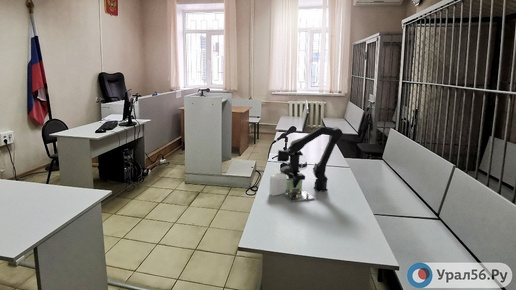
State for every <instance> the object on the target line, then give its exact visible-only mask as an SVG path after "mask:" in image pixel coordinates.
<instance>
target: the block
mask: <svg viewBox="0 0 516 290" xmlns="http://www.w3.org/2000/svg"><path fill="white" fill-rule="evenodd" d="M300 188H303V180H300V181H299V183H298V184H297V186H296V188H294V187H293V179H292V178H290V179H289V178H287V179H286V191H290V189H292V191H293V190H300Z"/></svg>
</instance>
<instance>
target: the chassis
mask: <svg viewBox="0 0 516 290" xmlns="http://www.w3.org/2000/svg"><path fill="white" fill-rule="evenodd" d="M302 188H303V187H302ZM302 188H300V189H299V191H293V190H292V189H290V190H289V192H285V193H284V194H283V196H284V197H285V198H286V199H287V200H288V201H290V202H291V203H298V202H306V201H307V202H308V201H315V197H314V196H313V195H311V194H310V193H308V192H307V191H306V190H304V191H303V189H302Z"/></svg>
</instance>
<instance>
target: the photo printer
mask: <svg viewBox="0 0 516 290" xmlns="http://www.w3.org/2000/svg"><path fill="white" fill-rule="evenodd" d="M287 177H288V176H287V175H286V174H283V173H281V172H280V173H279V172H278V173H275V174H273V175H271V176H270V178H269V191H268V192H269V195H270V196H272V197H274V196H278V195H279V196H280V195H284V193H287V192H286V191H287V190H286V179H288V178H287Z"/></svg>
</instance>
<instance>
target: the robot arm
mask: <svg viewBox="0 0 516 290" xmlns="http://www.w3.org/2000/svg"><path fill="white" fill-rule="evenodd" d="M322 135H327V136H328V137H329V138H328V142H327V144H326V147H325V148H324V150H323V153H322V155H321V158H320V160H319V162H318V163H316V162H315V164H314V166H313V168H312V173H313V175H314V177H315V181H314V186H313V189H314V190H316V191H317V192H325V191H328V189H327V187H328V178H327V177H328V176H327V175H326V169H327V164H328V162H329V159H330V158H331V155H332V154H333V151H334V148H335V147H336V144H337V143H339V141H340V140H341V138H342V136H343V131H342V129H340V128H339V127H337V126H334V127H330V126H324V125H321V126H319V127H318V128H316V129H315V130H313V131H311V132H310V133H308V134H306V135H305V136H302V137H300V138H297V139H295V140H292V141H291V142H290V146H289V147H288V148H287V149H286V150H284V149H283V150H282V149H278V150H277V155H276V157H277V158H276V159H277V162H278V163H279V162H283V163H284V162H286V163H287V165H285V166H282V167H280V168H279V171H280V173H283V174H286V177H288V178H287V179H290V178H292V179H293V187H294V188H296V186H297V184H298V183H299V181H300V180H302V181H304V180H306V176H305V174H303V173H300V172H301V171H300V167H301V164H300V157H301V156H302V157H303V156H304V154H303V152H302V149H303V148H304V147H305V146H306V145H307V144H309V143H310V142H312V141H314V140H315V139H317V138H319V137H320V136H322ZM288 161H289V162H288Z"/></svg>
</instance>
